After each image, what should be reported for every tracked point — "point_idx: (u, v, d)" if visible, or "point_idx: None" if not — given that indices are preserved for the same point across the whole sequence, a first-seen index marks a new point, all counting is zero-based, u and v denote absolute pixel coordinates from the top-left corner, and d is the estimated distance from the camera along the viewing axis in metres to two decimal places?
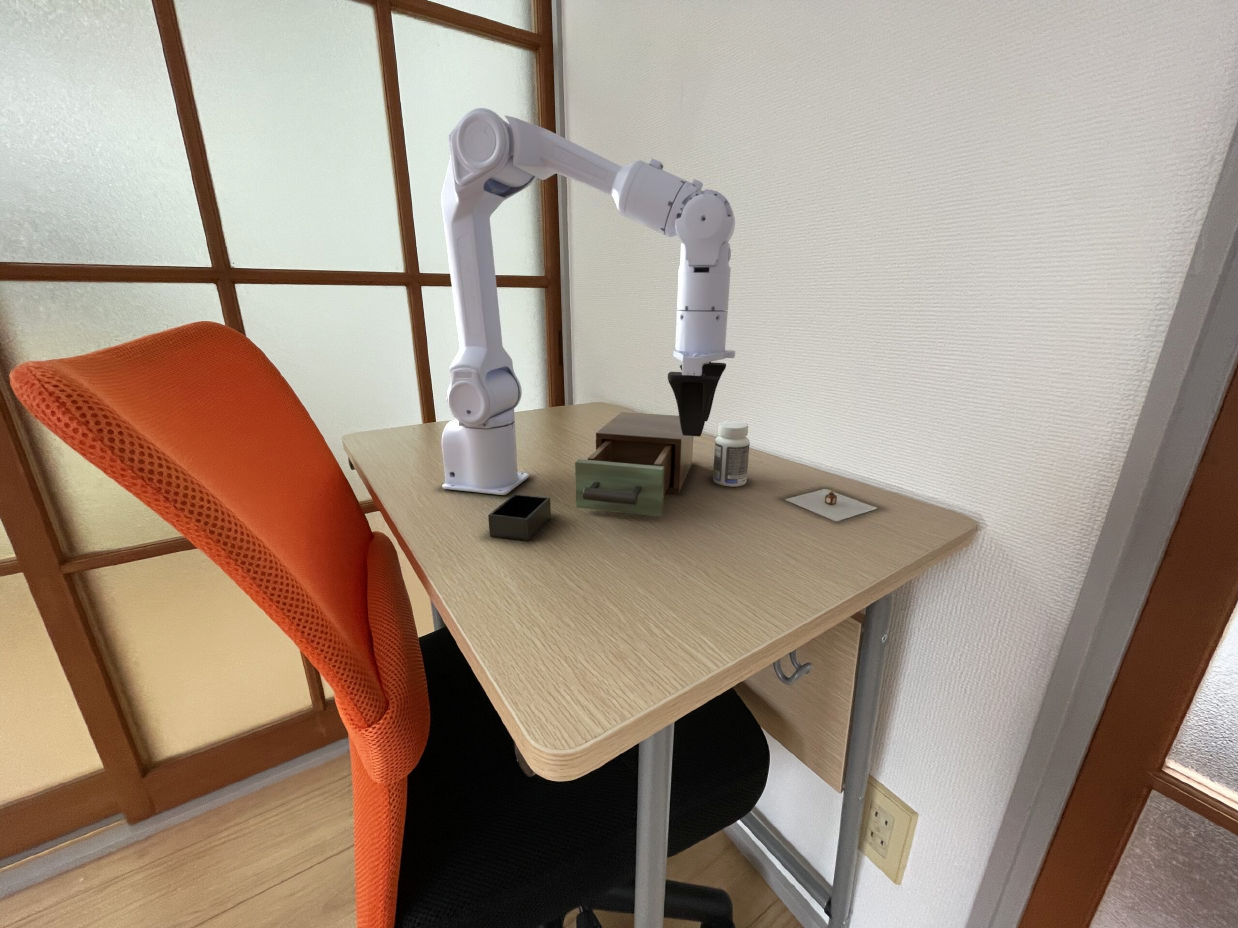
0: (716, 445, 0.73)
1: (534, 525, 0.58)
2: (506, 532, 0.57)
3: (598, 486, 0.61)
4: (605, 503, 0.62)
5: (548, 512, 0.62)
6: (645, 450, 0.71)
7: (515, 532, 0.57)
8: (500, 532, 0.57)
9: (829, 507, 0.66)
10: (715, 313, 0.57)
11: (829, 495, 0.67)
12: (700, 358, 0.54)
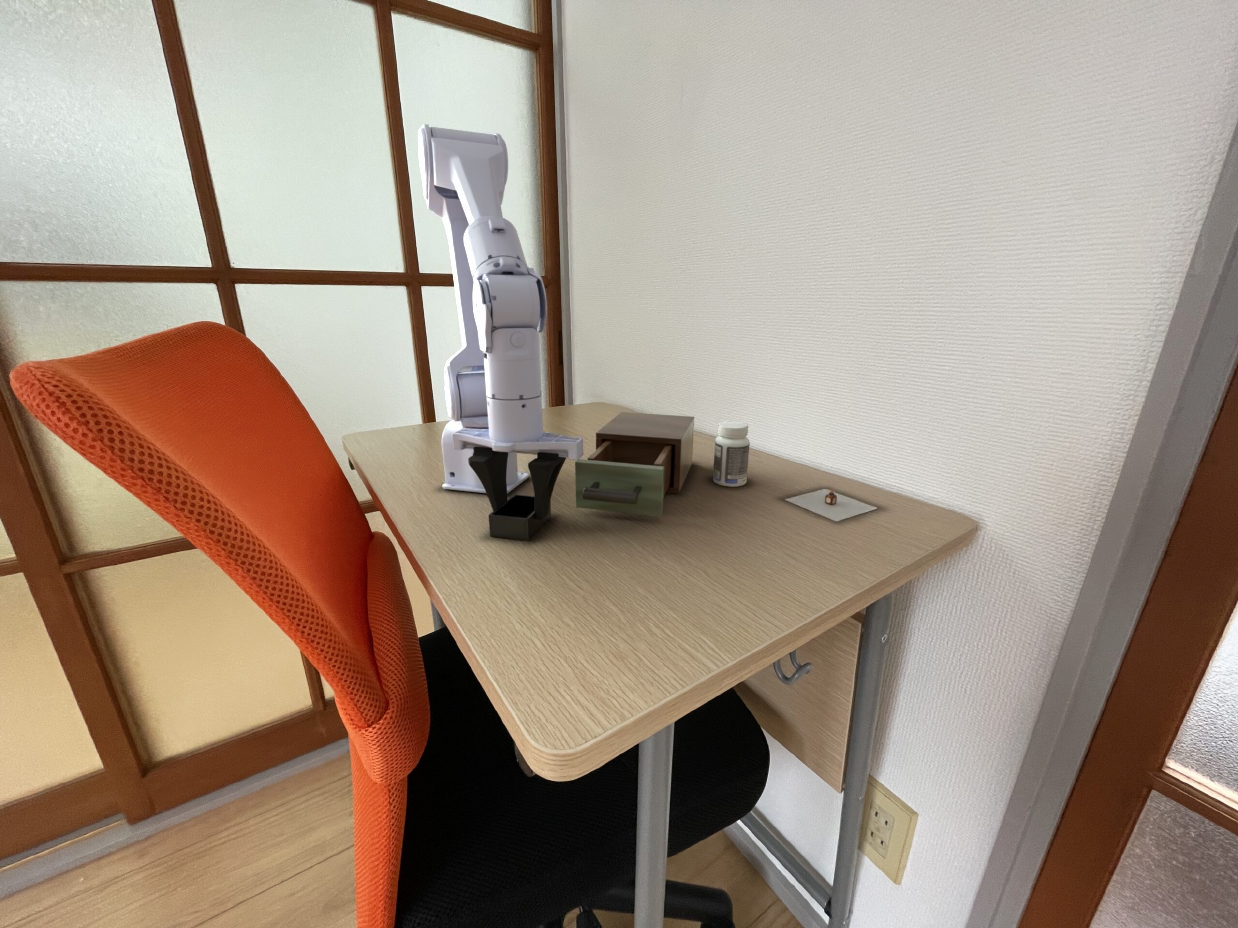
0: (716, 445, 0.73)
1: (535, 525, 0.58)
2: (506, 532, 0.57)
3: (598, 486, 0.61)
4: (605, 503, 0.62)
5: None
6: (645, 450, 0.71)
7: (515, 532, 0.57)
8: (500, 532, 0.57)
9: (829, 507, 0.66)
10: (486, 398, 0.55)
11: (829, 495, 0.67)
12: (452, 433, 0.58)
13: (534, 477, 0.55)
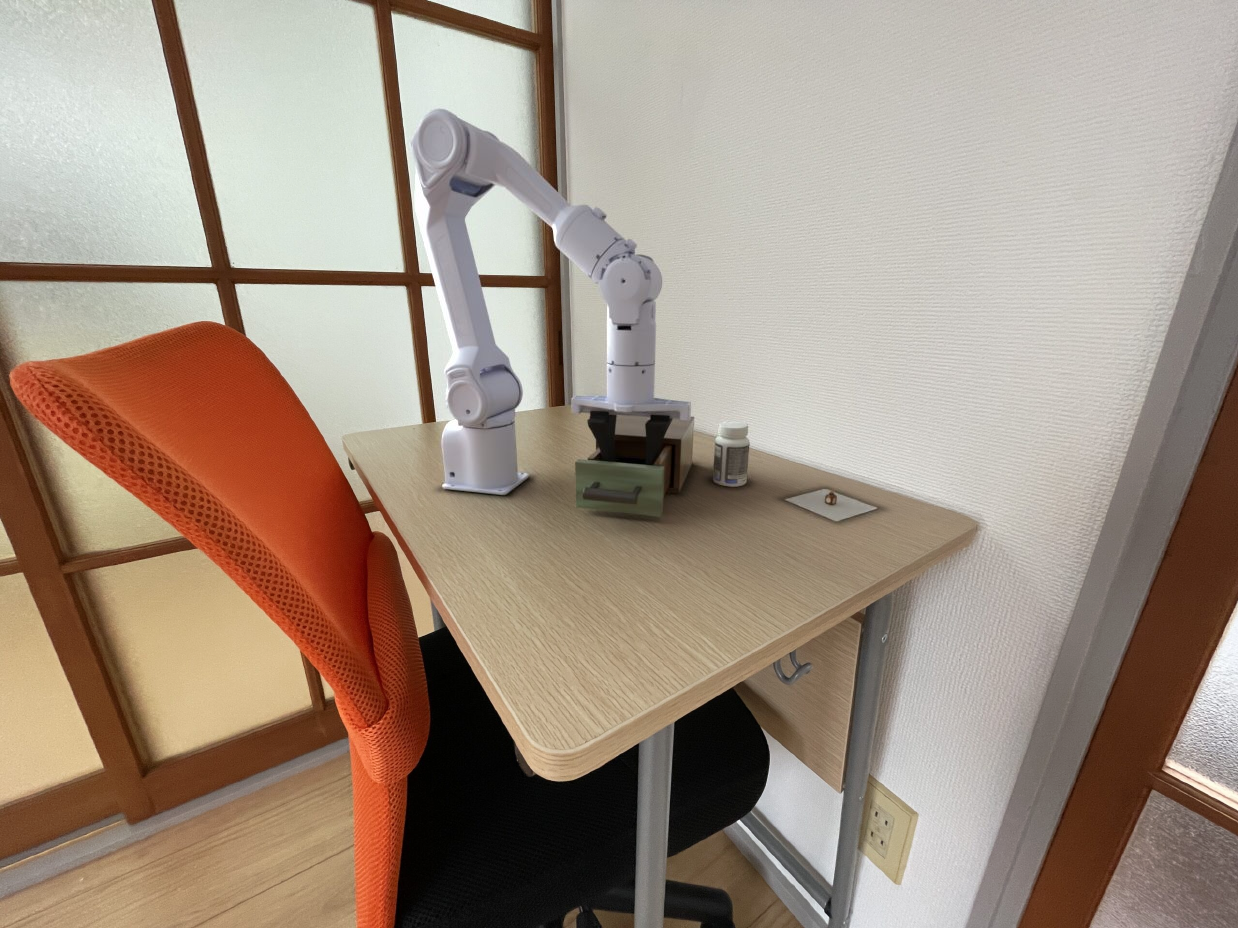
0: (716, 445, 0.73)
1: None
2: None
3: (598, 486, 0.61)
4: (605, 503, 0.62)
5: None
6: (645, 450, 0.71)
7: None
8: None
9: (829, 507, 0.66)
10: (608, 366, 0.61)
11: (829, 495, 0.67)
12: (571, 398, 0.65)
13: (649, 436, 0.62)
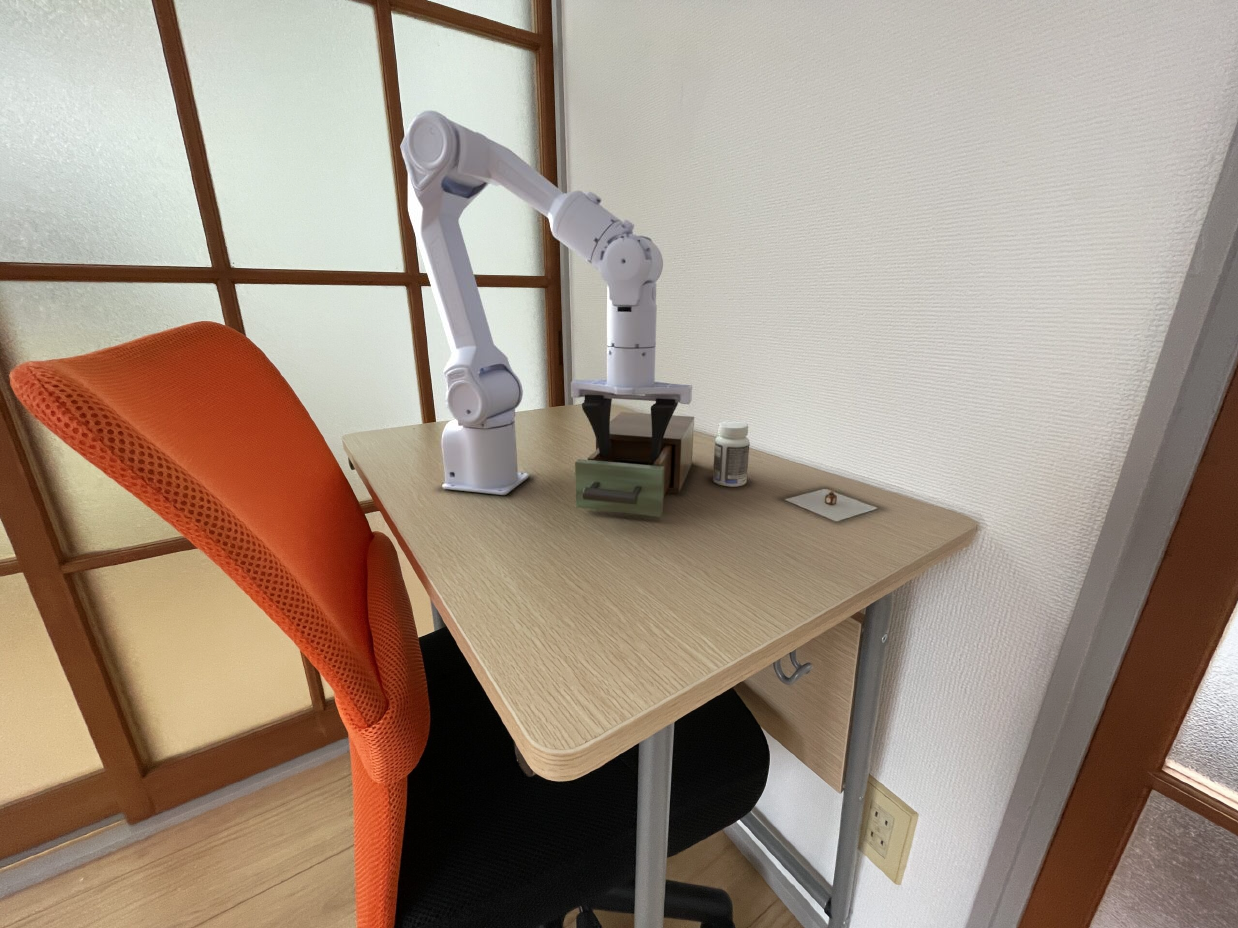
0: (716, 445, 0.73)
1: None
2: None
3: (598, 486, 0.61)
4: (605, 503, 0.62)
5: None
6: (645, 450, 0.71)
7: None
8: None
9: (829, 507, 0.66)
10: (608, 348, 0.61)
11: (829, 495, 0.67)
12: (571, 382, 0.64)
13: (654, 420, 0.61)
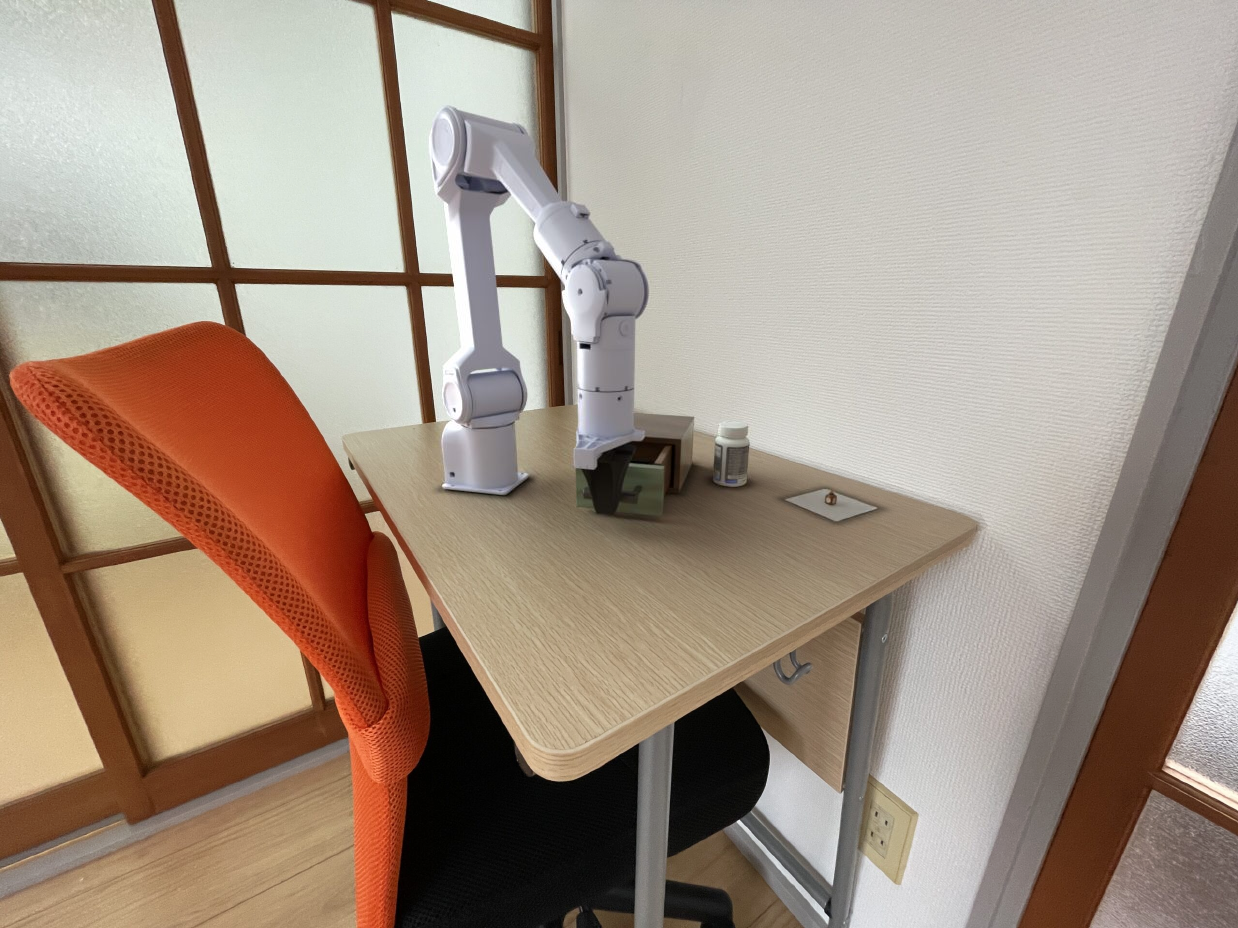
0: (716, 445, 0.73)
1: None
2: None
3: None
4: None
5: None
6: (645, 449, 0.72)
7: None
8: None
9: (829, 507, 0.66)
10: (616, 394, 0.51)
11: (829, 495, 0.67)
12: (592, 450, 0.47)
13: (627, 465, 0.55)
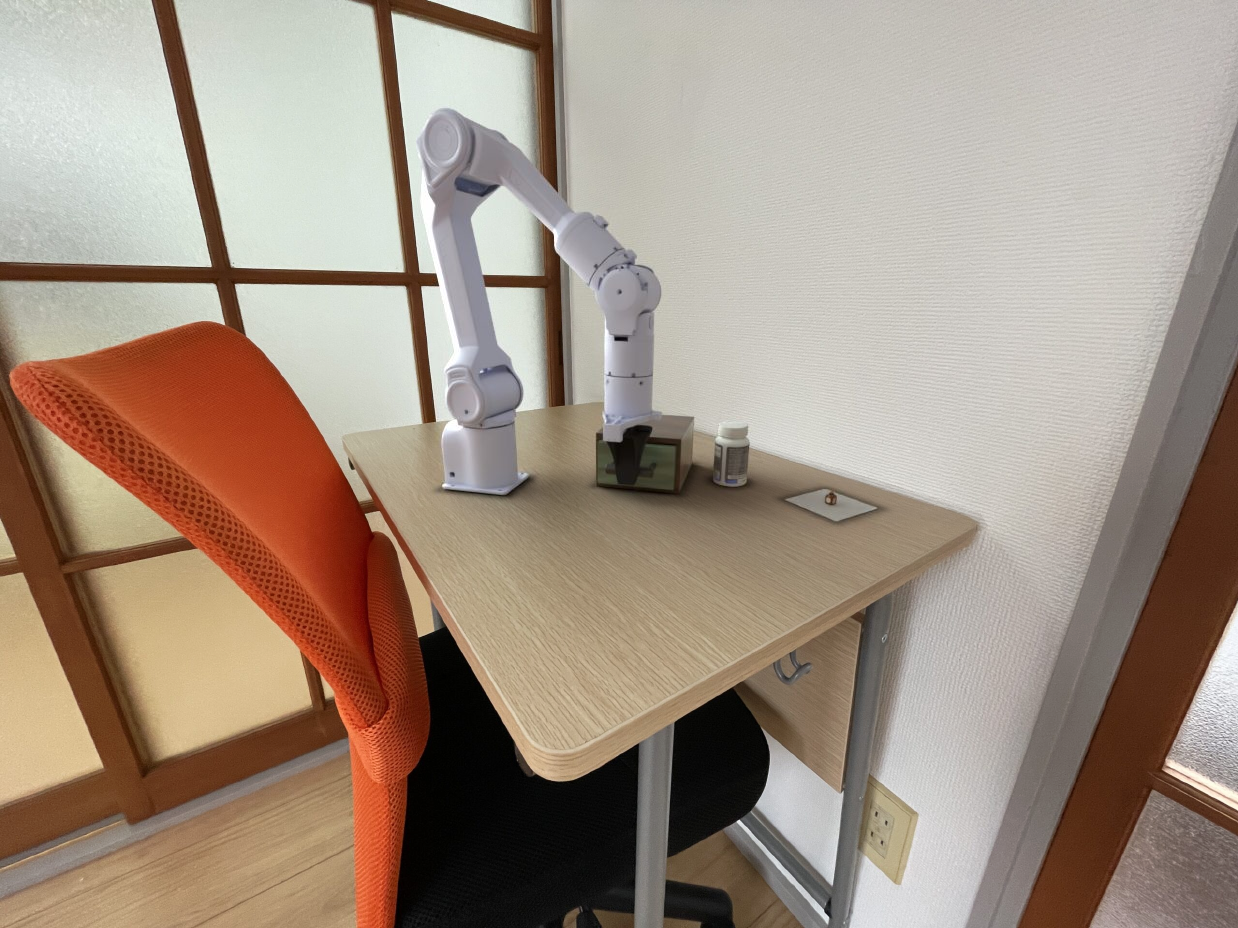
0: (716, 445, 0.73)
1: None
2: None
3: None
4: None
5: None
6: None
7: None
8: None
9: (829, 507, 0.66)
10: (638, 379, 0.59)
11: (829, 495, 0.67)
12: (619, 426, 0.56)
13: (645, 443, 0.64)
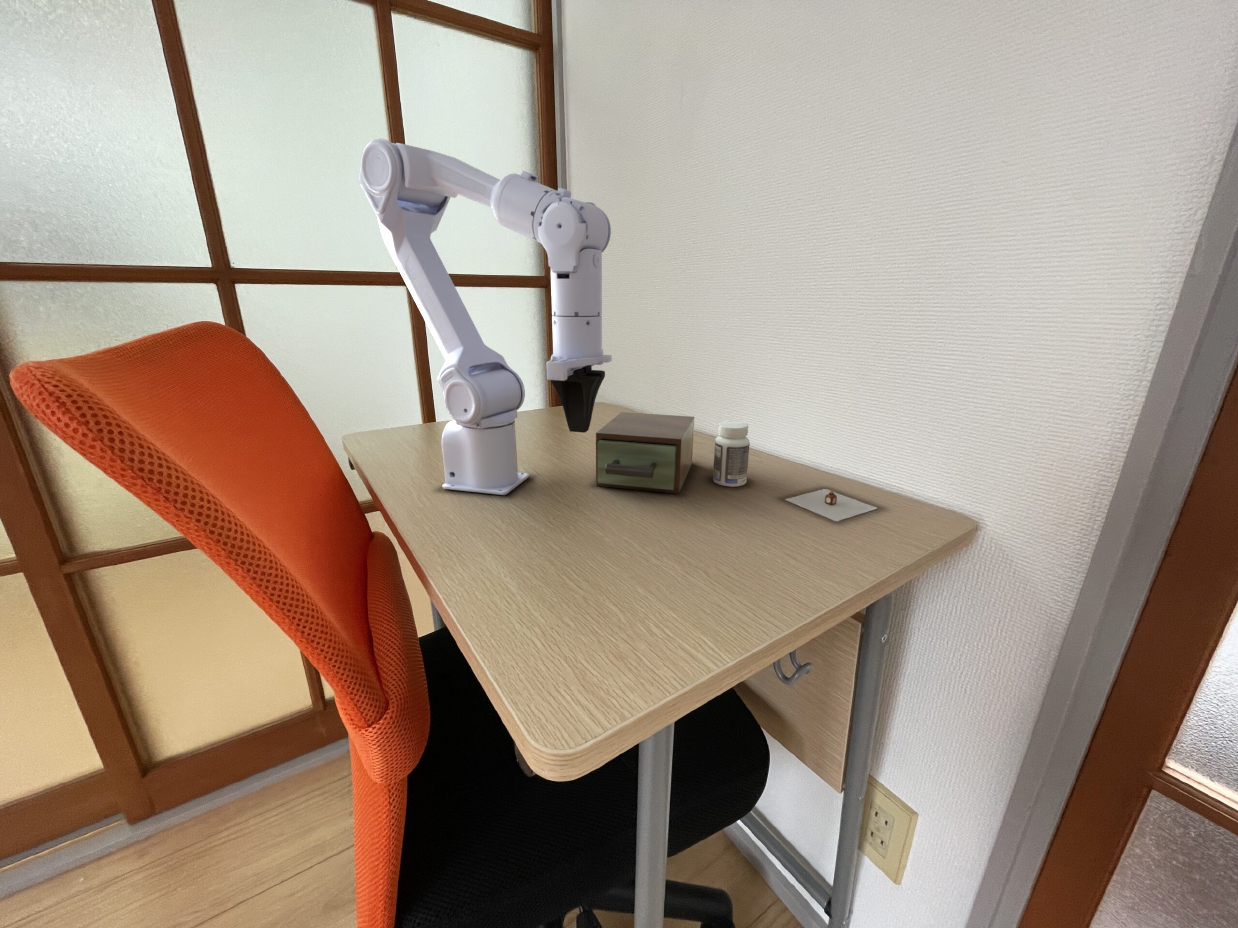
0: (716, 445, 0.73)
1: None
2: None
3: (618, 463, 0.70)
4: (624, 478, 0.70)
5: None
6: None
7: None
8: None
9: (829, 507, 0.66)
10: (584, 318, 0.58)
11: (829, 495, 0.67)
12: (563, 363, 0.55)
13: (597, 387, 0.63)
